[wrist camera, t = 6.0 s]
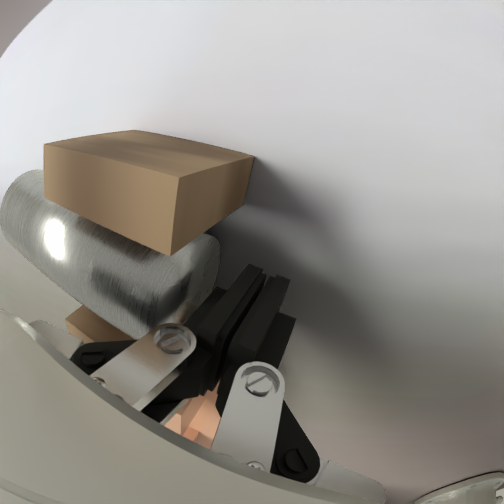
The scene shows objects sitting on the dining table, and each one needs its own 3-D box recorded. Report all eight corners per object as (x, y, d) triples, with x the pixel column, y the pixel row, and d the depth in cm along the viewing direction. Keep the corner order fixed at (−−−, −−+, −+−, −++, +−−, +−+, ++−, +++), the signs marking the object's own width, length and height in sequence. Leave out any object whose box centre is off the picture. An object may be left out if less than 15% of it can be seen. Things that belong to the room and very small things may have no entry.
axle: (228, 217, 11) (152, 279, 7) (211, 307, 14) (155, 377, 10) (60, 160, 14) (-6, 184, 9) (64, 230, 16) (9, 261, 12)
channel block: (254, 156, 10) (178, 177, 6) (213, 342, 15) (166, 409, 10) (134, 130, 11) (43, 143, 7) (128, 298, 16) (73, 345, 12)
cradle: (267, 377, 15) (239, 442, 11) (230, 449, 21) (211, 487, 17) (123, 307, 17) (77, 347, 13) (138, 402, 23) (112, 432, 19)
